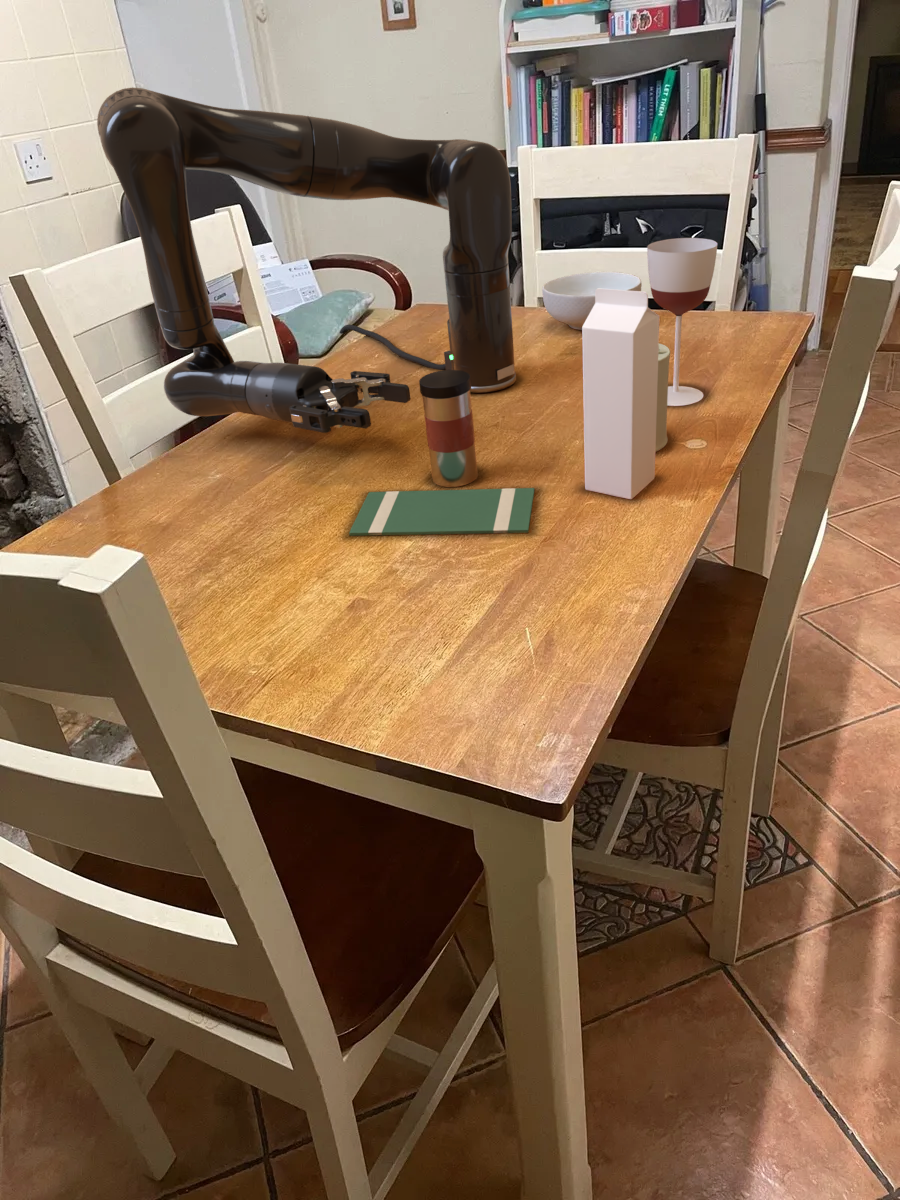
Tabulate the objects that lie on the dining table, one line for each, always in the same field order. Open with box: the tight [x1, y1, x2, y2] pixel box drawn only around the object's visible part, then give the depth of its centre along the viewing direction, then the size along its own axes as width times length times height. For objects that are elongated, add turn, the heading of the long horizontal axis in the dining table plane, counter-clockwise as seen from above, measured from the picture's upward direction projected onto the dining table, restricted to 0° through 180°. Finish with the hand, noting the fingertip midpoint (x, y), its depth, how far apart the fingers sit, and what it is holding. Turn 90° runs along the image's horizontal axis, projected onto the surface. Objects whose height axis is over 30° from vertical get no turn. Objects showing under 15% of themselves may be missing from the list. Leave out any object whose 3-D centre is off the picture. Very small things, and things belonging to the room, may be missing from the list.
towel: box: [348, 487, 536, 537], centre depth 99 cm, size 10×20×1 cm, turn 81°
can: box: [655, 342, 671, 453], centre depth 107 cm, size 9×9×12 cm
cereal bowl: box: [541, 271, 642, 331], centre depth 152 cm, size 17×17×7 cm
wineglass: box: [646, 237, 718, 407], centre depth 116 cm, size 8×9×20 cm
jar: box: [418, 370, 479, 488], centre depth 104 cm, size 6×6×12 cm
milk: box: [581, 288, 660, 500], centre depth 95 cm, size 6×6×22 cm
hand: (389, 406), depth 107 cm, fingers open, 8 cm apart
